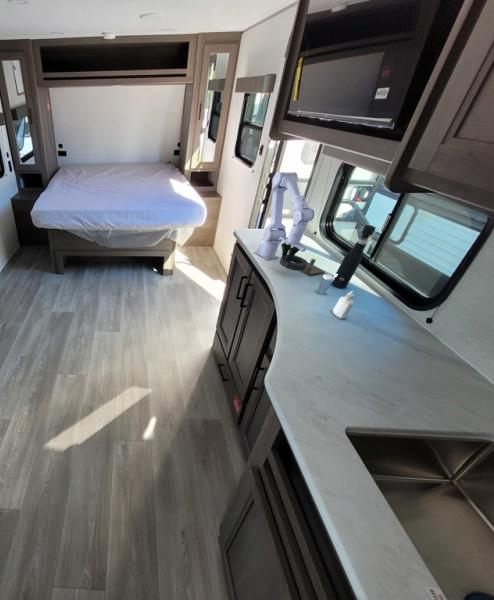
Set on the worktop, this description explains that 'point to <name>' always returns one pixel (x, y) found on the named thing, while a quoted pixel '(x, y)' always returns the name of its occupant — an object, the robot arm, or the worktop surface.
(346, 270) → the black thermos flask
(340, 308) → the eye dropper bottle
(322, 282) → the milkshake
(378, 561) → the worktop surface
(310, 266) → the stand
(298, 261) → the ring
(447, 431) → the worktop surface
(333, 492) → the worktop surface
